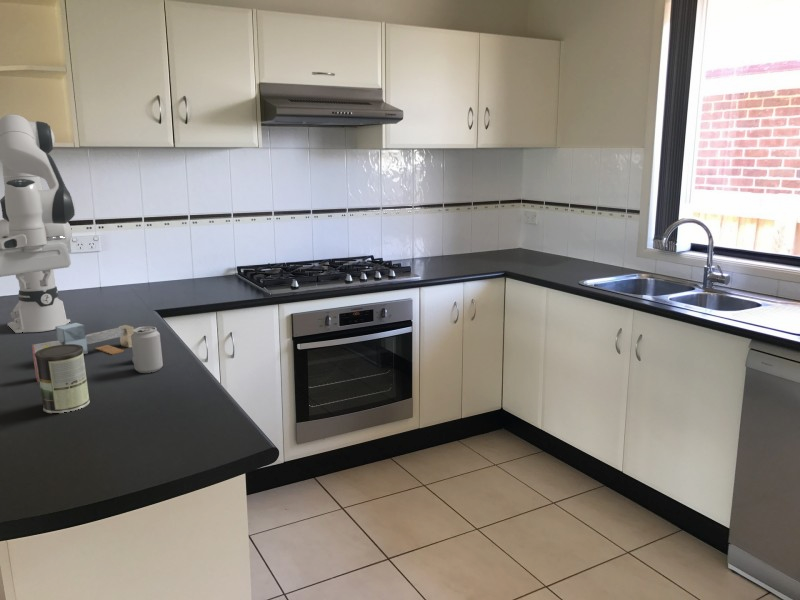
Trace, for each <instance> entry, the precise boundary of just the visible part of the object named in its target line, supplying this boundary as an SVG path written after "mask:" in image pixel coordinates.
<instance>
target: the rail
mask: <svg viewBox="0 0 800 600" xmlns="http://www.w3.org/2000/svg"><path fill="white" fill-rule="evenodd" d="M134 329H135V327H134V326H131V325H128V324H123V325H119V326H118V327H114V328H110V329H105V330H102V331H97V332H92V333H88V334H85V335H86V343H87V345H91V344H94V343H99V342H103V341H104V342H105V341H108V340H112V339H117V338H119V343H120V346H122V347H126V348H132V341H131V335H132V334H133V333H134V332H133V330H134ZM54 341H55V340H51V341H49V342H54ZM47 342H48V341H46V342H45V343H47ZM60 345H64V342H62V341H60ZM95 350H98V351H100V352H103V353H106V354H108V353H109V354H108V355H111V354H112V355H116V354H120V353H123V352H125V350H124V349H123V348H122V349H121V348H118V347H116V346H112V345H109V344H105V345H101V346H98V347H95Z"/></svg>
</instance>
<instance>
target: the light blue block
mask: <svg viewBox="0 0 800 600" xmlns="http://www.w3.org/2000/svg"><path fill="white" fill-rule="evenodd" d="M55 328H56V329H55V334H56V341H62V342H64V344H76V345H81V346H83V355H84V354H88V344H87V343H86V335H87V334H86V330H85V329H86V328H85V324H82V323H79V322H72V323H71V322H70V323H67V324H66V325H61V326H57V327H55Z"/></svg>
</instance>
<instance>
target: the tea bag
mask: <svg viewBox="0 0 800 600" xmlns="http://www.w3.org/2000/svg"><path fill="white" fill-rule="evenodd" d="M53 341H54V342H50V341H46V342H47V343H46V342H42V343H35V344H31V349H32V350H31V351H32V357H33V358H32V359H33V364H34V365H33V366H34V372H35V378H36V382H37V383H40V381H39V374H38V367H37V361H36V357H35V353H36V352H37V351H39V350H41V349H44V348H47V347H51V346H56V345H60V341H57V340H53Z"/></svg>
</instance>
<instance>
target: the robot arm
mask: <svg viewBox="0 0 800 600" xmlns="http://www.w3.org/2000/svg"><path fill="white" fill-rule="evenodd" d="M55 142H56V136H55V133H54V131H53V130H52V128H51V126H50V125H49V124H48V123H47V122H44V121H38V120H36V121H30V120H27V119H26V118H25V117H23V116H21V115H19V114H12V113H11V114H6V115H3V116H1V118H0V163H1V167H2V176H3V184H4V195H3V197H1V198H0V207H1V208H0V209H1V213H2V216H1V217H2V218H3V219H0V278H1V277H8V276H15V278H16V279H17V281H18V285H19V289H18V295H17V296H18V300H19V301H18V303H17V304H16V305H15V306H14V308H13V311H11V312H9V316H10V319H11V320H13V321H10V322H7V327H8V326H9V327H10V328H11V329H12V330H13V331H14V332H15V334H19V333H20V334H23V333H39V332H49V331H53V330H56V328H55V327H57V326H61V325H66V324H70V323H71V319H70V318H67V316H66V315H67V314H66V311H65V306H64V302H63V300H61V299H60V298H58V297H59V294H58V293H59V291H58V287H57V286H56V281H55V272H54V270H58V269H59V270H60V269H64V268H65V269H66V268H70V266H71V265H72V261H71V256H70V254H69V249H68V248H69V243H70V241H71V238H72V236H73V230H72V227H71V225H70V223H69V222H70V221H71V220H72V219H73V218H74V217H75V215H76V205H75V200H74V199H73V197H72V195H71V193H70V192H69V190H68V188H67V187H66V184H65V181H64V180H63V178H62V175H61V173H60V171H59V169H58V167H57V165H56V162H55V160H54V159H53V157H52V156H51V154H50V153H51V152H52V151H53V150H54V146H55ZM42 179H43V180H45V182H46V184H47V185H48V189H43V183H42ZM69 322H70V323H69ZM9 327H8V328H9ZM10 328H9V329H10ZM11 329H10V330H11ZM12 330H11V331H12ZM13 331H12V332H13ZM14 332H13V333H14ZM22 332H23V333H22Z"/></svg>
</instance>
